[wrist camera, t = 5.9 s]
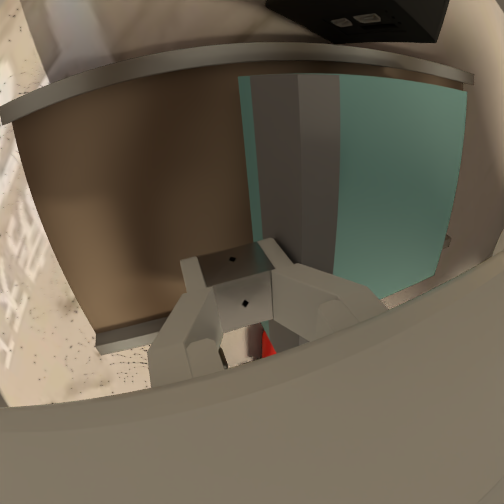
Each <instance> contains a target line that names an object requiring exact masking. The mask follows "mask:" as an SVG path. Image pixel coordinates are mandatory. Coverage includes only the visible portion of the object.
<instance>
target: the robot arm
mask: <svg viewBox="0 0 504 504" xmlns="http://www.w3.org/2000/svg"><path fill="white" fill-rule="evenodd" d="M180 265H181V269H182V273H183V278H184V282H185V286H186V290H187V293H184V294H182V295H181V297H180V299H179V300H178V302H177V304H176V305H175V307H174V308H173V310H172V312H171V313H170V315H169V317H168V318H167V320H166V321H165V323H164V325H163V326H162V328H161V330H160V331H159V333H158V335H157V336H156V338H155V340H154V341H153V343H152V345H151V346H150V348H149V350H148V351H147V355H148V365H149V374H150V382H151V388H148V389H143V390H138V391H133V392H128V393H122V394H117V395H111V396H105V397H99V398H93V399H86V400H79V401H71V402H63V403H55V404H45V405H34V406H21V407H3V408H0V504H504V229H503V231H502V233H501V235H500V237H499V239H498V242H497V244H496V246H495V249H494V252H493V254H492V257H490V258H489V259H487V260H485V261H484V262H482V263H480V264H478V265H477V266H475V267H473V268H471V269H470V270H468V271H466V272H464V273H462V274H460V275H459V276H457V277H455V278H453V279H451V280H449V281H447V282H445V283H443V284H442V285H440V286H438V287H436V288H434V289H432V290H430V291H428V292H426V293H424V294H422V295H420V296H418V297H416V298H414V299H412V300H409V301H407V302H405V303H403V304H401V305H399V306H397V307H394V308H392V309H390V310H389V309H388V308H387V307H386V306H385V305H384V304H383V303H382V302H381V301H380V300H379V299H378V298H377V297H376V296H375V294H374V293H373V292H372V291H371V290H370V289H369V288H368V287H367V286H364V285H361V284H358V283H355V282H353V281H350V280H347V279H344V278H341V277H338V276H335V275H332V274H329V273H326V272H323V271H320V270H317V269H314V268H311V267H308V266H306V265H303V264H300V263H296V264H293V263H292V261H291V260H290V259H289V258H288V256H287V255H286V254H285V253H284V251H283V250H282V249H281V248H280V246H279V245H278V244H277V243H276V241H275V240H274V239H273V238H271V237H270V238H266V239H263V240H259V241H256V242H253V243H249V244H245V245H242V246H238V247H234V248H231V249H225V250H220V251H216V252H212V253H207V254H203V255H198V256H197V257H196V256H194V257H190V258H186V259H182V260H180ZM271 319H274V320H275V321H276V322H278V323H280V324H281V325H283V326H285V327H286V328H288V329H290V330H291V331H293V332H295V333H296V334H298V335H300V336H301V337H303V338H305V339H306V340H308V341H310V342H308V343H306V344H303V345H300V346H297V347H294V348H291V349H289V350H286V351H283V352H280V353H277V354H274V355H271V356H268V357H265V358H261V359H258V360H255V361H252V362H249V363H245V364H242V365H239V366H235V367H232V368H228V369H225V370H224V367H223V364H222V361H221V358H220V355H219V353H218V350H219V347H220V344H221V341H222V338H223V333H226V332H230V331H233V330H236V329H239V328H242V327H245V326H249V325H252V324H256V323H260V322H263V321H267V320H271Z"/></svg>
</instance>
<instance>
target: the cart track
mask: <svg viewBox="0 0 504 504" xmlns="http://www.w3.org/2000/svg"><path fill="white" fill-rule="evenodd" d="M293 73H324V74H349V75H364V76H375V77H385V78H394V79H402V80H409V81H415V82H422V83H427V84H433V85H438V86H443V87H448V88H453V89H457V90H461V91H463V83H466V84H471V85H474V74H471V73H468V72H465V71H462V70H459V69H456V68H453V67H449V66H446V65H442V64H439V63H435V62H431V61H428V60H424V59H419V58H415V57H411V56H406V55H401V54H397V53H391V52H386V51H380V50H374V49H367V48H360V47H352V46H343V45H333V44H320V43H302V42H252V43H233V44H220V45H210V46H201V47H193V48H186V49H179V50H173V51H167V52H161V53H156V54H151V55H146V56H141V57H137V58H132V59H128V60H124V61H120V62H116V63H113V64H109V65H105V66H102V67H98V68H95V69H92V70H88V71H85V72H82V73H79V74H76V75H73V76H70V77H68V78H65V79H62V80H59V81H57V82H54V83H51V84H49V85H46V86H44V87H41V88H39V89H37V90H34V91H32V92H30V93H28V94H25V95H23V96H21V97H19V98H17V99H14V100H12V101H10V102H8V103H6V104H4V105H2V106H0V116H1V121H2V125H5V124H8V123H10V122H12V125H13V130H14V134H15V138H16V143H17V147H18V151H19V154H20V158H21V162H22V165H23V169H24V172H25V176H26V179H27V182H28V185H29V188H30V191H31V194H32V197H33V200H34V203H35V206H36V209H37V211H38V214H39V217H40V219H41V222H42V225H43V227H44V230H45V232H46V235H47V237H48V240H49V242H50V244H51V247H52V249H53V251H54V254H55V256H56V258H57V260H58V262H59V265H60V267H61V269H62V271H63V273H64V275H65V277H66V279H67V281H68V283H69V285H70V287H71V289H72V291H73V293H74V295H75V297H76V299H77V301H78V303H79V305H80V306H81V308H82V310H83V312H84V314H85V316H86V317H87V319H88V321H89V323H90V324H91V326H92V328H93V329H94V331H95V333H96V343H95V347H96V348H97V350H98V351H99V353H100V354H101V355H105V354H110V353H114V352H119V351H123V350H128V349H132V348H137V347H141V346H145V345H149V344H152V343H153V341H154V340H155V338H156V336H157V335H158V333H159V331H160V330H161V328H162V326H163V325H164V323H165V321H166V320H167V318H168V317H169V315H170V313H171V312H172V310H173V308H174V307H175V305H176V304H177V302H178V300H179V299H180V297H181V295H182V294H184V293H187V290H186V286H185V282H184V278H183V273H182V269H181V265H180V260H182V259H186V258H190V257H194V256H196V257H197V256H198V255H203V254H207V253H212V252H216V251H220V250H225V249H231V248H234V247H238V246H242V245H245V244H249V243H253V231H252V220H251V210H250V199H249V188H248V178H247V167H246V156H245V146H244V135H243V125H242V114H241V104H240V93H239V83H238V77H240V76H252V75H267V74H293ZM450 240H451V238H450V237H449V236H447V235H446V236H445V240H444V244H443V247H442V249H444V248H446V247H449V244H450Z"/></svg>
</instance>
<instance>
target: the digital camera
mask: <svg viewBox="0 0 504 504" xmlns="http://www.w3.org/2000/svg"><path fill="white" fill-rule="evenodd" d="M448 4H449V0H267V1H266V3H265V6H266V7H267V8H269V9H271V10H273V11H275V12H277V13H279V14H281V15H283V16H285V17H287V18H289V19H291V20H293V21H295V22H297V23H299V24H301V25H302V26H304V27H306V28H308V29H310V30H311V31H313V32H315V33H317V34H318V35H320V36H322V37H323V38H325V39H327V40H328V41H330V42H331V43H333V44H346V43H364V42H414V43H436V42H437V39H438V36H439V33H440V30H441V27H442V24H443V21H444V17H445V14H446V11H447V7H448Z"/></svg>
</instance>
